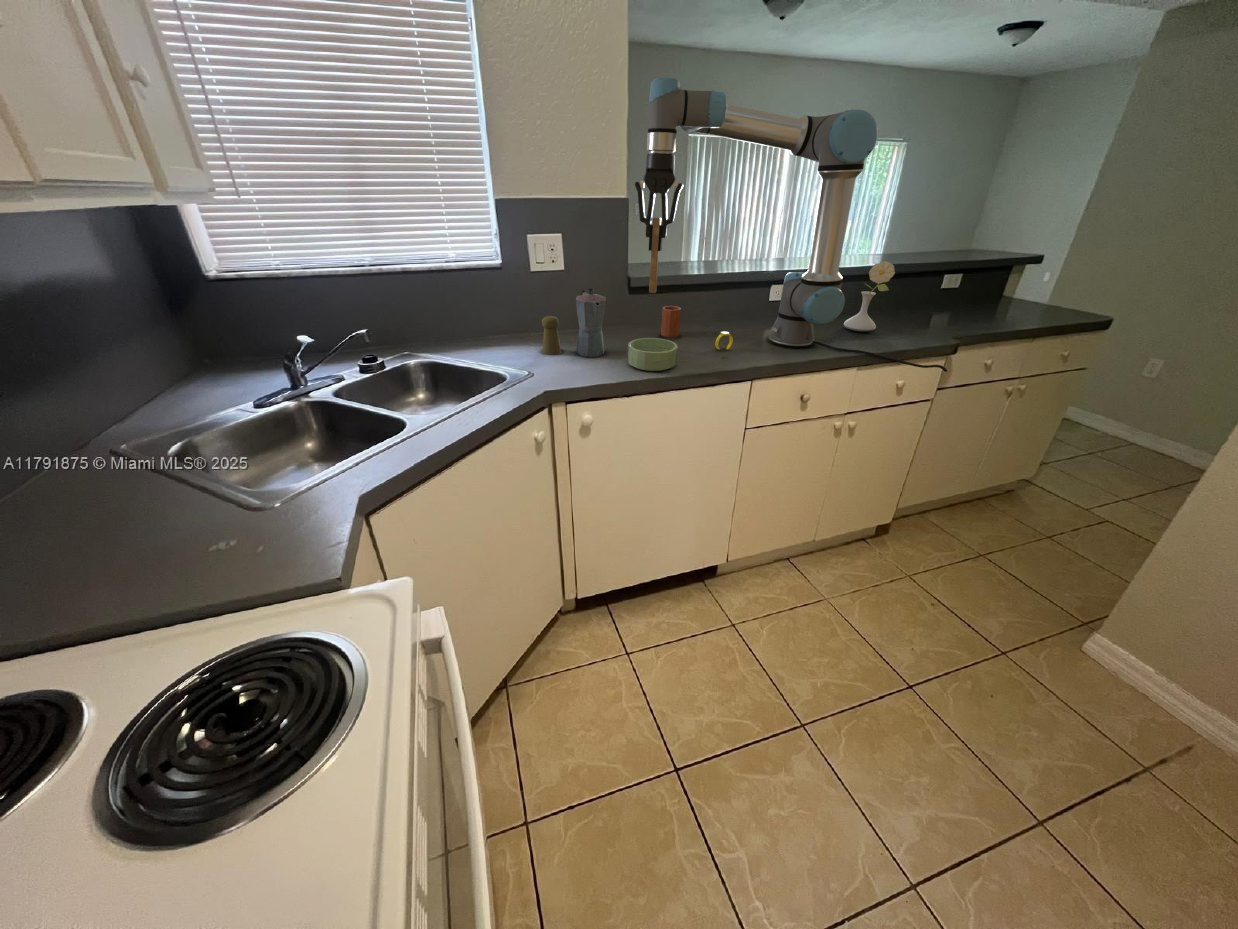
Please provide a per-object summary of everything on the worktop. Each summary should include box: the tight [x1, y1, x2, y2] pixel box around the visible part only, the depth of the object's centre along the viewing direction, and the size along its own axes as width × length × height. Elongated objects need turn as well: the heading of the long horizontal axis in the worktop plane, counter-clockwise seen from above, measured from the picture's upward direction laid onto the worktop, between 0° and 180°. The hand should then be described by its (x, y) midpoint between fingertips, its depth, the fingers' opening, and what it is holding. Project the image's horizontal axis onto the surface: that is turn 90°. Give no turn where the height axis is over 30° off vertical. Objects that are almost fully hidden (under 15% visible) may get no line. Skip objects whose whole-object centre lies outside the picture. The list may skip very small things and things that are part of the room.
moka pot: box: [575, 288, 607, 358], centre depth 150 cm, size 10×15×20 cm, turn 27°
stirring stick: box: [648, 217, 662, 294], centre depth 140 cm, size 2×2×20 cm
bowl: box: [627, 337, 678, 372], centre depth 145 cm, size 15×15×6 cm
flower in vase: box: [843, 260, 896, 333], centre depth 179 cm, size 13×11×25 cm
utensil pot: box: [660, 305, 682, 338], centre depth 170 cm, size 6×6×10 cm
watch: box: [714, 330, 734, 351], centre depth 159 cm, size 6×3×6 cm, turn 114°
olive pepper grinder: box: [541, 315, 562, 356], centre depth 153 cm, size 6×6×11 cm
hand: (655, 249), depth 139 cm, fingers closed on stirring stick, 2 cm apart
